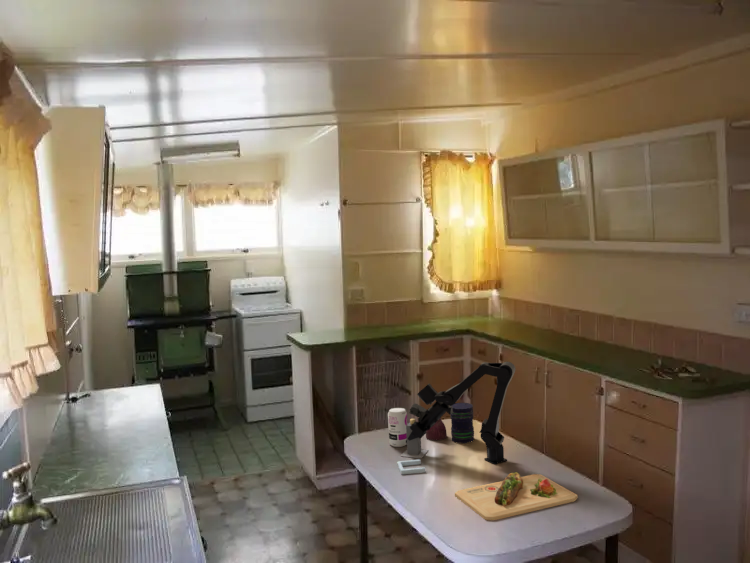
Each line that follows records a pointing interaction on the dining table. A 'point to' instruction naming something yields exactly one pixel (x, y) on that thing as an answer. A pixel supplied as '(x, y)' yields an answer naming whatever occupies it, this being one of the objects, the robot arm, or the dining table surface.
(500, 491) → the cutting board
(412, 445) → the plug block
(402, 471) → the blue bay
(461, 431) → the storage jar
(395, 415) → the supplement can
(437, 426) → the vegetable
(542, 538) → the dining table surface
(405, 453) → the grey pad
